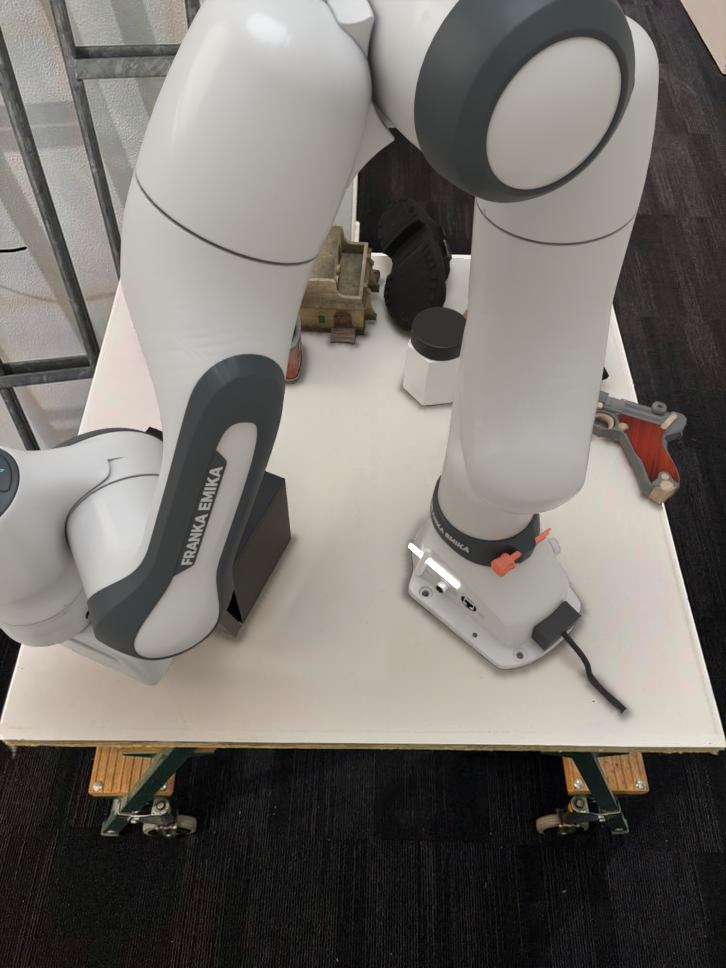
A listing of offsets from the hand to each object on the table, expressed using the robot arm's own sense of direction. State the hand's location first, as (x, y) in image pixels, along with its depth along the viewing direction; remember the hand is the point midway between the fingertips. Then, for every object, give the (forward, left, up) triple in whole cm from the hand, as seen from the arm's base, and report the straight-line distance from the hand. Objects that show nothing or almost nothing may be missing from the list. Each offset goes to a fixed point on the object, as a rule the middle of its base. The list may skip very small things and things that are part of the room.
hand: (90, 649), depth 73 cm
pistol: (-10, -64, -10) cm, 66 cm away
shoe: (+33, -67, -4) cm, 75 cm away
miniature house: (+36, -55, -11) cm, 67 cm away
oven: (+9, -17, -12) cm, 23 cm away
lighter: (+30, -44, -12) cm, 54 cm away
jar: (+15, -59, -12) cm, 62 cm away
